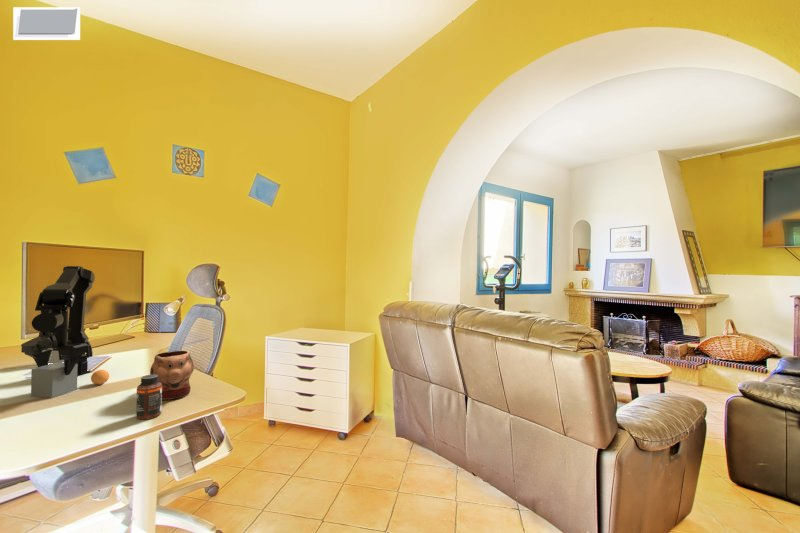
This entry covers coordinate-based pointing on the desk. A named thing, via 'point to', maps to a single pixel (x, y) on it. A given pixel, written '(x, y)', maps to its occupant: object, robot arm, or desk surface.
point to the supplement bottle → (149, 397)
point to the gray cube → (52, 380)
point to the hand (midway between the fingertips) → (55, 374)
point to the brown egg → (100, 377)
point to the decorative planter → (173, 373)
